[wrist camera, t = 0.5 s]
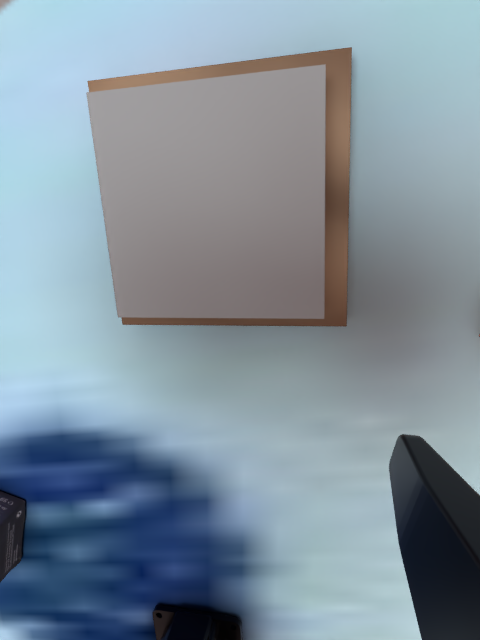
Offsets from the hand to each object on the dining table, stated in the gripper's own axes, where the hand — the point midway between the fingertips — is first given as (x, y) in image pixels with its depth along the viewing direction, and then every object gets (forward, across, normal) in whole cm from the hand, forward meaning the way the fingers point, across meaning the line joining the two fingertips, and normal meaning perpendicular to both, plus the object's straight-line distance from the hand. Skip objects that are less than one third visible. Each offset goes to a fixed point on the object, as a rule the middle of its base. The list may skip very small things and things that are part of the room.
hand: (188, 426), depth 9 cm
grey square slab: (+13, +1, -1) cm, 13 cm away
